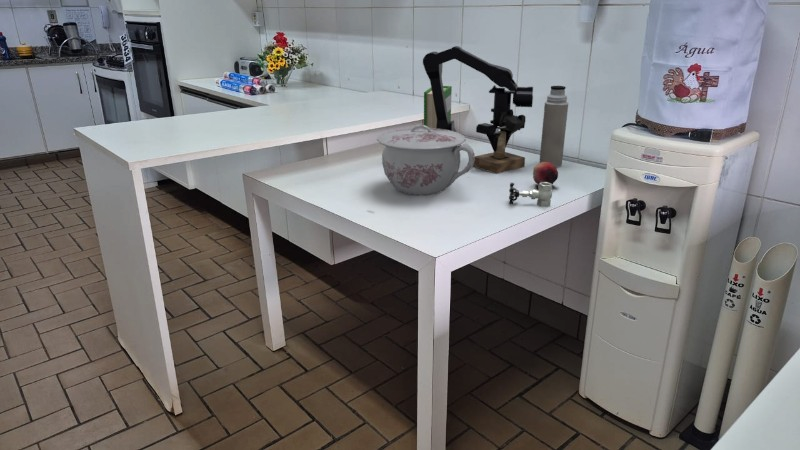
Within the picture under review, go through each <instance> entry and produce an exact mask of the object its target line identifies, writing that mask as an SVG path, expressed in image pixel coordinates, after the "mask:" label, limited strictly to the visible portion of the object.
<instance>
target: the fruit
mask: <svg viewBox="0 0 800 450" xmlns="http://www.w3.org/2000/svg"><path fill="white" fill-rule="evenodd" d="M532 178H533V181H534V183H535V184H536V185H538V186H539V183H541V182H548V183H551V184H552V185H553V184H554V183H555V182H556V181H557V180H558V178H559V171H558V169H557V167H555V166H554V165H553V164H552V163H550V162H541V163H537V164H536V165H534V167H533V172H532Z"/></svg>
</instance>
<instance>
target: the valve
mask: <svg viewBox="0 0 800 450" xmlns="http://www.w3.org/2000/svg"><path fill="white" fill-rule="evenodd" d="M514 186H515V182H510V183H509V196H508V200H509V201H508V202H509V203H508V205H514V202H515V201H517V200H518V198H519V197H522V198H528V197H529V198H530V199H531V200H536V199H537V201H536V205H537V206H539V207H541V208H549V207H550V206H551V199H552V198H553V192H552V189H553V184H551V183H548V182H541V183H539V185H538V190H537V189H534V188H532V189H531V190H529V191H528V190H522V191H520V190H518V188H517V187H514Z"/></svg>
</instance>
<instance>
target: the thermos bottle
mask: <svg viewBox="0 0 800 450" xmlns="http://www.w3.org/2000/svg"><path fill="white" fill-rule="evenodd" d="M566 88H567V87H566V86H563V85H551V86H550V92H549V94H548V95H547V96H546V97H547V98H546V101H545V102H544V109H543V119H542V128H541V129H542V131H541V142H540V153H539V161H538V162H539V163H541V162H550V163H552V164H553V165H554V166H555V168H560V167H562V165H563V157H564V150H565V149H564V148H565V147H564V146H565V138H566V129H567V120H568V112H569V111H568V110H569V102H567V101H568V100H567V99H568V96H567V95H566V91H565V90H566ZM539 163H538V164H539Z"/></svg>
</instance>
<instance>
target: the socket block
mask: <svg viewBox="0 0 800 450" xmlns="http://www.w3.org/2000/svg"><path fill="white" fill-rule="evenodd" d="M493 154H494V151H493V152H489V153H485V154H480V155H475V161H474V165H473V166H472V167H475V168H478V169H481V170H483V171H487V172H490V173H492V174H496V175H497V174H500V173H504V172H510V171H513V170H517V169H523V168H525V163H526V157H525V156H521V155H518V154H514V153H510V152H506V151H505V158H501V159H499V158H494V157H493Z"/></svg>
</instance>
